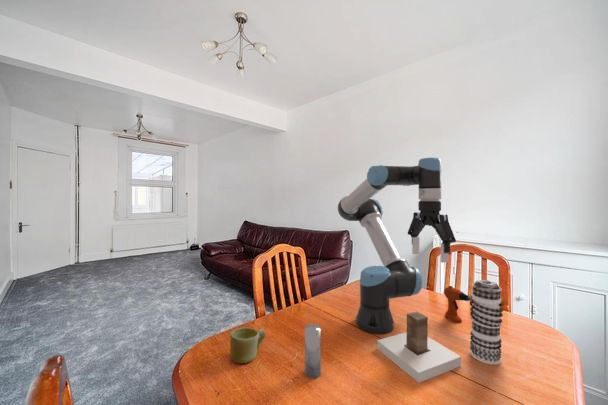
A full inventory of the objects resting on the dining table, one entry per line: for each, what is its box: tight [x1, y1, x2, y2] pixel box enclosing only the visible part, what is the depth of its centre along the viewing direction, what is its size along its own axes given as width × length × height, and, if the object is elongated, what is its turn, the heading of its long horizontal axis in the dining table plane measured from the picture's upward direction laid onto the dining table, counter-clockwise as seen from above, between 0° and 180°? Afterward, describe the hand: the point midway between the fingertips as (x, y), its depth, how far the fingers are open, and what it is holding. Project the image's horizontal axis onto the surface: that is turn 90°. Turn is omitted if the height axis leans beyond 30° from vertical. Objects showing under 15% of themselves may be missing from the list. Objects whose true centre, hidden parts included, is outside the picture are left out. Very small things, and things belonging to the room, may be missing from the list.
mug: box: [229, 327, 266, 364], centre depth 87 cm, size 12×10×10 cm
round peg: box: [304, 323, 322, 379], centre depth 78 cm, size 5×5×14 cm
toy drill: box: [443, 285, 473, 324], centre depth 107 cm, size 5×18×14 cm, turn 8°
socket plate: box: [376, 331, 462, 383], centre depth 86 cm, size 18×18×3 cm
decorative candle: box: [469, 279, 505, 366], centre depth 86 cm, size 9×9×25 cm
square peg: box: [406, 311, 429, 355], centre depth 86 cm, size 4×4×14 cm
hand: (429, 257), depth 95 cm, fingers open, 13 cm apart
